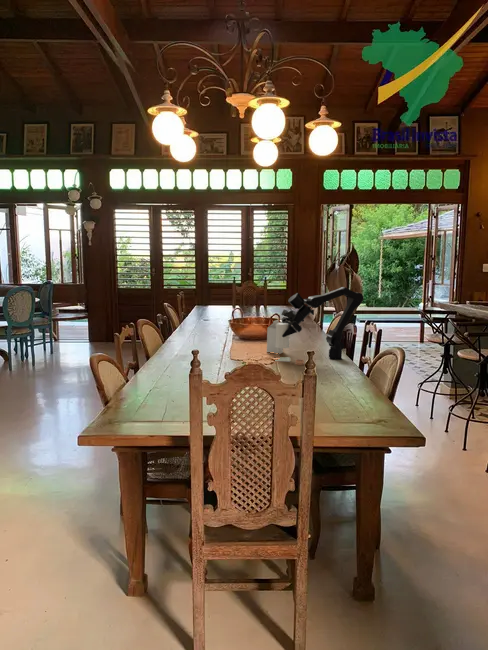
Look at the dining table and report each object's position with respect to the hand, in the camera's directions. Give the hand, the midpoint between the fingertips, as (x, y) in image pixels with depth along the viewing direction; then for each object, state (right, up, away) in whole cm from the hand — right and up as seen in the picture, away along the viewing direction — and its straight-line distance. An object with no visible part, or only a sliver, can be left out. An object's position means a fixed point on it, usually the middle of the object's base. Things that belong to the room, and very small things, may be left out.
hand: (280, 335), depth 263 cm
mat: (+1, -13, +3) cm, 14 cm away
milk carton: (-2, -11, +19) cm, 22 cm away
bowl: (+10, -15, -7) cm, 19 cm away
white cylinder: (+1, -6, +1) cm, 6 cm away
